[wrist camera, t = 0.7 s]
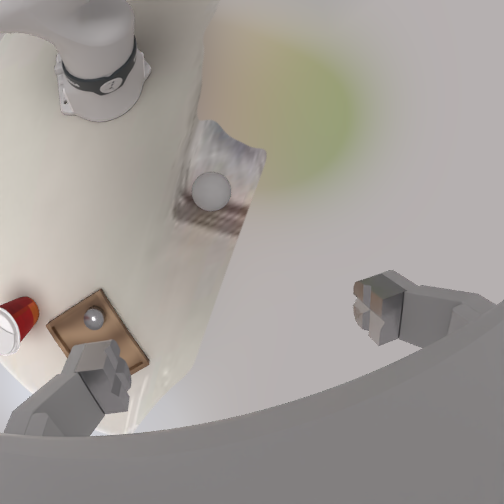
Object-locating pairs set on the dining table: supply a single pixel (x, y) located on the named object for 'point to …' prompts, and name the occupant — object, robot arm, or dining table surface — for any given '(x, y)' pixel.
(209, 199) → the lightbulb
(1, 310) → the paper cup
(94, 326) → the part
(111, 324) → the tray
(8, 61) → the dining table surface
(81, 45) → the robot arm
